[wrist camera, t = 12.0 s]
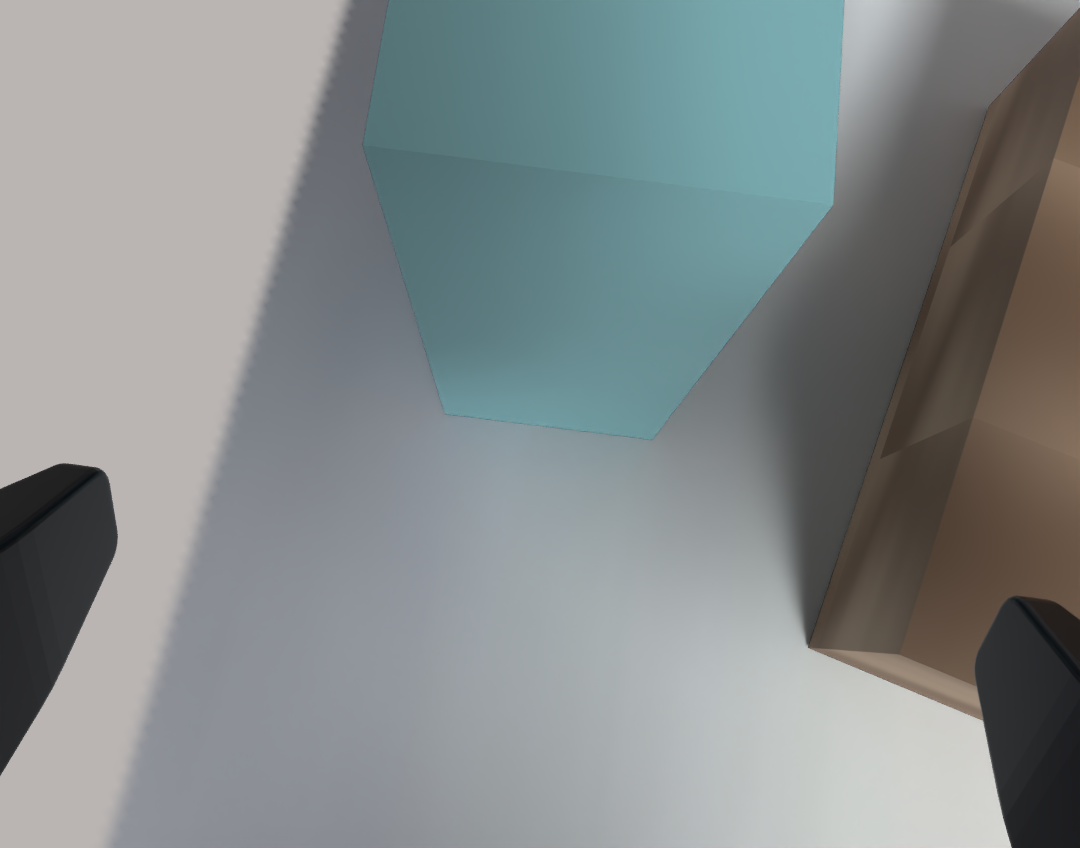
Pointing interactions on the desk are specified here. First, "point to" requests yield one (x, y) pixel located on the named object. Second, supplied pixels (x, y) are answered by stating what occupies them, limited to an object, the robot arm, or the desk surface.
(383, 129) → the plug
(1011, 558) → the brown flat block
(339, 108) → the desk surface
